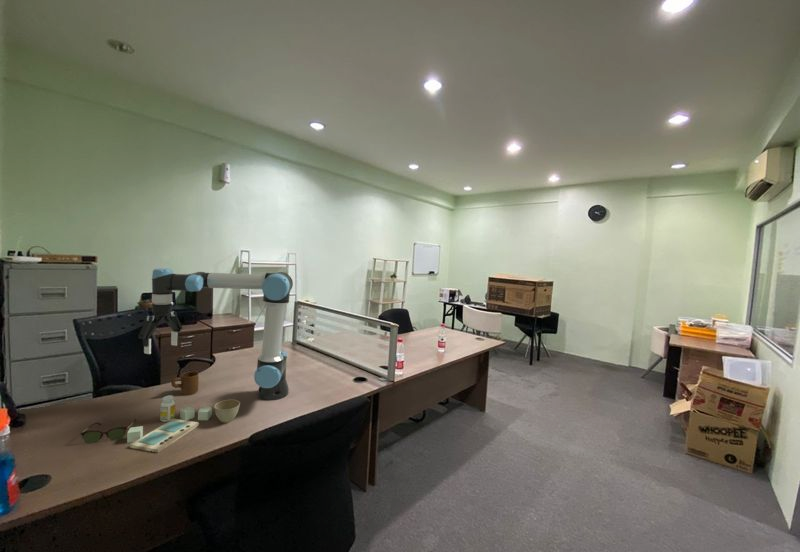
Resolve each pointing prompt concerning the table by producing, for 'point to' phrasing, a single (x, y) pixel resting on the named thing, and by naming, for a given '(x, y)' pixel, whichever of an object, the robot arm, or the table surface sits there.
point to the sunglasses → (111, 434)
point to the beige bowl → (227, 410)
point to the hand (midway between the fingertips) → (161, 349)
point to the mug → (187, 383)
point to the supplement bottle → (167, 408)
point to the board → (164, 435)
